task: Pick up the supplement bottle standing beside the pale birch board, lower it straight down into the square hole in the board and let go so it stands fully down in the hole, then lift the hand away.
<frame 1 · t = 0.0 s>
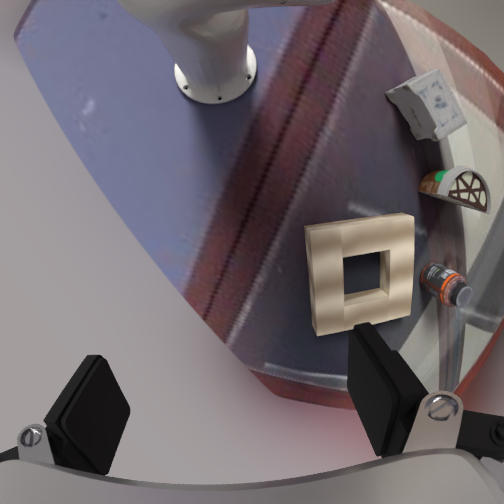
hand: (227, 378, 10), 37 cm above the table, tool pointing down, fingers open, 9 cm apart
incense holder: (409, 110, 41), on the table
food container: (438, 181, 45), on the table
supplement bottle: (430, 274, 50), on the table
socket board: (358, 270, 49), on the table
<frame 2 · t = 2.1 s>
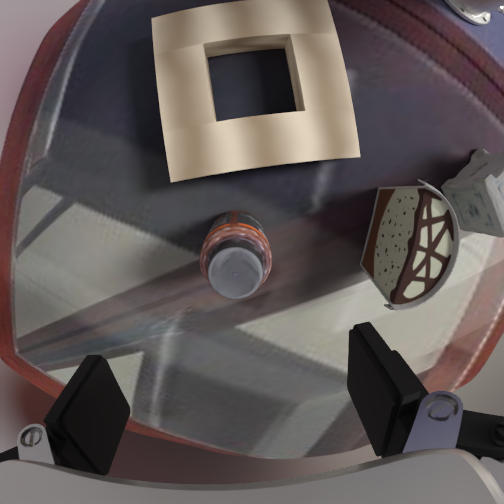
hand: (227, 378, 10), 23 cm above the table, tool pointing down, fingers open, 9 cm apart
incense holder: (465, 183, 31), on the table
food container: (390, 231, 32), on the table
supplement bottle: (236, 236, 32), on the table
socket board: (251, 85, 27), on the table
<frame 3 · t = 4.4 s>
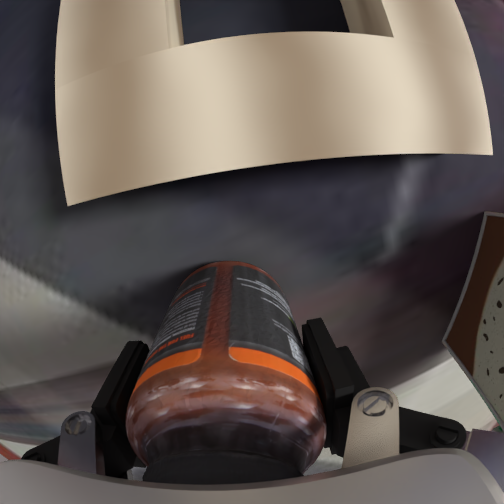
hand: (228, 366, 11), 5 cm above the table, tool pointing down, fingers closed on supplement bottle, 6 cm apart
food container: (488, 283, 16), on the table
supplement bottle: (231, 309, 15), on the table, touching gripper
socket board: (262, 0, 11), on the table
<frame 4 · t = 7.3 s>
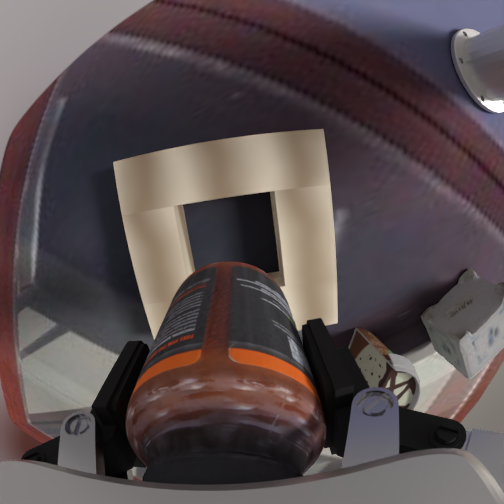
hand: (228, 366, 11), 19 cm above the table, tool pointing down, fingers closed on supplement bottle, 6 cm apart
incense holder: (448, 304, 33), on the table
food container: (363, 359, 34), on the table
supplement bottle: (230, 310, 15), point 14 cm above the table, touching gripper
socket board: (231, 237, 29), on the table
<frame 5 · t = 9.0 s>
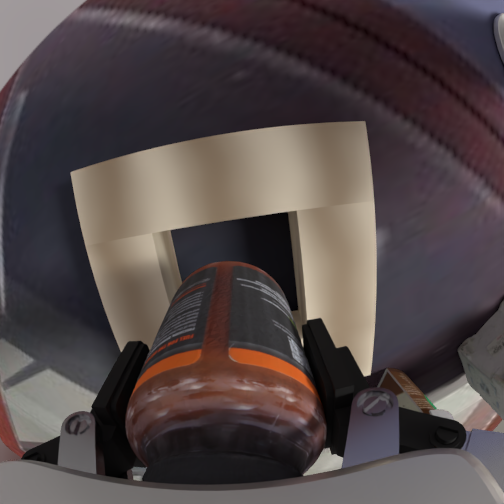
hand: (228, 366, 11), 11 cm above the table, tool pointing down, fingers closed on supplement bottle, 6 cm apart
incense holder: (485, 332, 25), on the table
food container: (391, 399, 27), on the table
supplement bottle: (230, 310, 15), point 6 cm above the table, touching gripper
socket board: (235, 268, 21), on the table
when the fingers open (6 cm above the table, at t = 10.5 s): supplement bottle drops 1 cm, resting in socket board.
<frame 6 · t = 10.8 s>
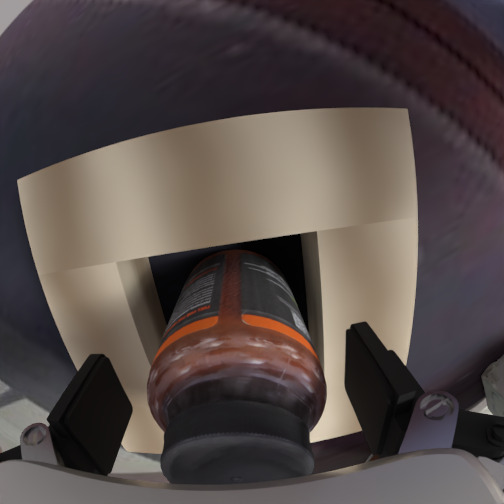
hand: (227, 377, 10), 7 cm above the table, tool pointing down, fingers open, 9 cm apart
supplement bottle: (237, 295, 17), resting in socket board
socket board: (231, 299, 17), on the table
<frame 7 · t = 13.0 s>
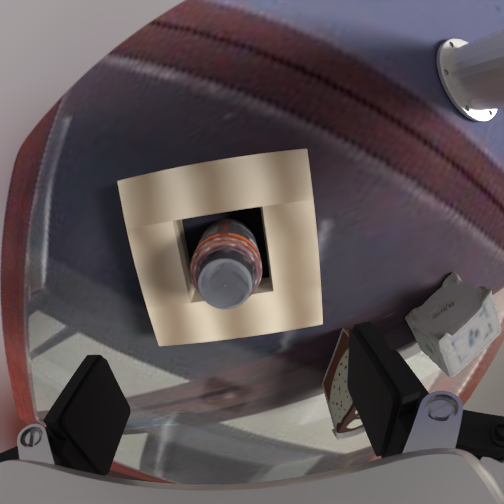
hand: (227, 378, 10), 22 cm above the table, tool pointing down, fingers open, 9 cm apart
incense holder: (432, 305, 36), on the table
food container: (351, 357, 37), on the table
supplement bottle: (228, 244, 32), resting in socket board
socket board: (225, 246, 32), on the table
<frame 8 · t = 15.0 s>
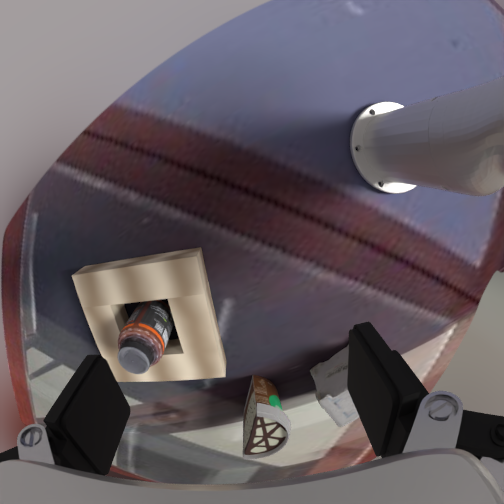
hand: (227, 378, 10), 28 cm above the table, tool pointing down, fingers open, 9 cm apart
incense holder: (341, 360, 44), on the table
food container: (265, 395, 45), on the table
supplement bottle: (156, 314, 41), resting in socket board
socket board: (154, 316, 40), on the table
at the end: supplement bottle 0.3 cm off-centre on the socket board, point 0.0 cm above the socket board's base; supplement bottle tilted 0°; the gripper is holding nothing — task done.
